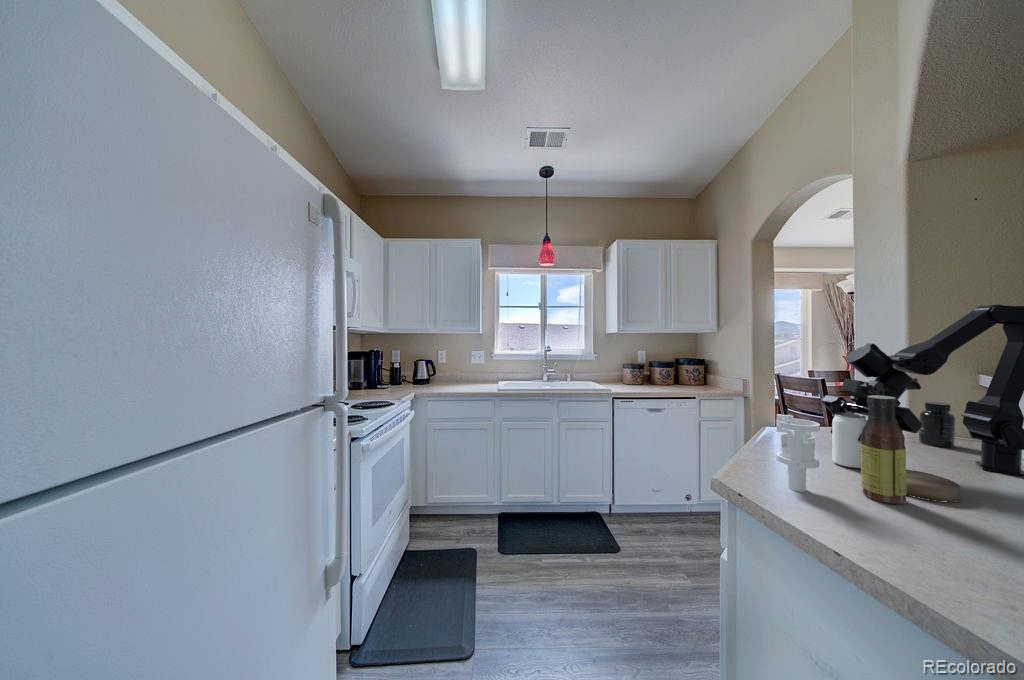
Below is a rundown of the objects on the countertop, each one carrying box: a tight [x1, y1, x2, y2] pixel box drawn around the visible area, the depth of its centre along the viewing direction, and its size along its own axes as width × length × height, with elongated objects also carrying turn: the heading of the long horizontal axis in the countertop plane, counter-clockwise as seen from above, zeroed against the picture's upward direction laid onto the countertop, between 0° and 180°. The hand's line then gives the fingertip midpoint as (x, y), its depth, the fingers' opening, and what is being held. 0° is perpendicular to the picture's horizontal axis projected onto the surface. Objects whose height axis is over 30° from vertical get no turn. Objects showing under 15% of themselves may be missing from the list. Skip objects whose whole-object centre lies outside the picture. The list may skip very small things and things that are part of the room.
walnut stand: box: [906, 468, 961, 503], centre depth 76 cm, size 11×11×2 cm
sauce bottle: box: [860, 395, 907, 505], centre depth 72 cm, size 6×6×20 cm
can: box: [831, 413, 867, 470], centre depth 90 cm, size 6×6×12 cm
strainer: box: [775, 413, 821, 493], centre depth 77 cm, size 7×7×15 cm
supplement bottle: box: [918, 401, 956, 449], centre depth 107 cm, size 7×7×12 cm
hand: (845, 437), depth 90 cm, fingers closed on can, 6 cm apart
